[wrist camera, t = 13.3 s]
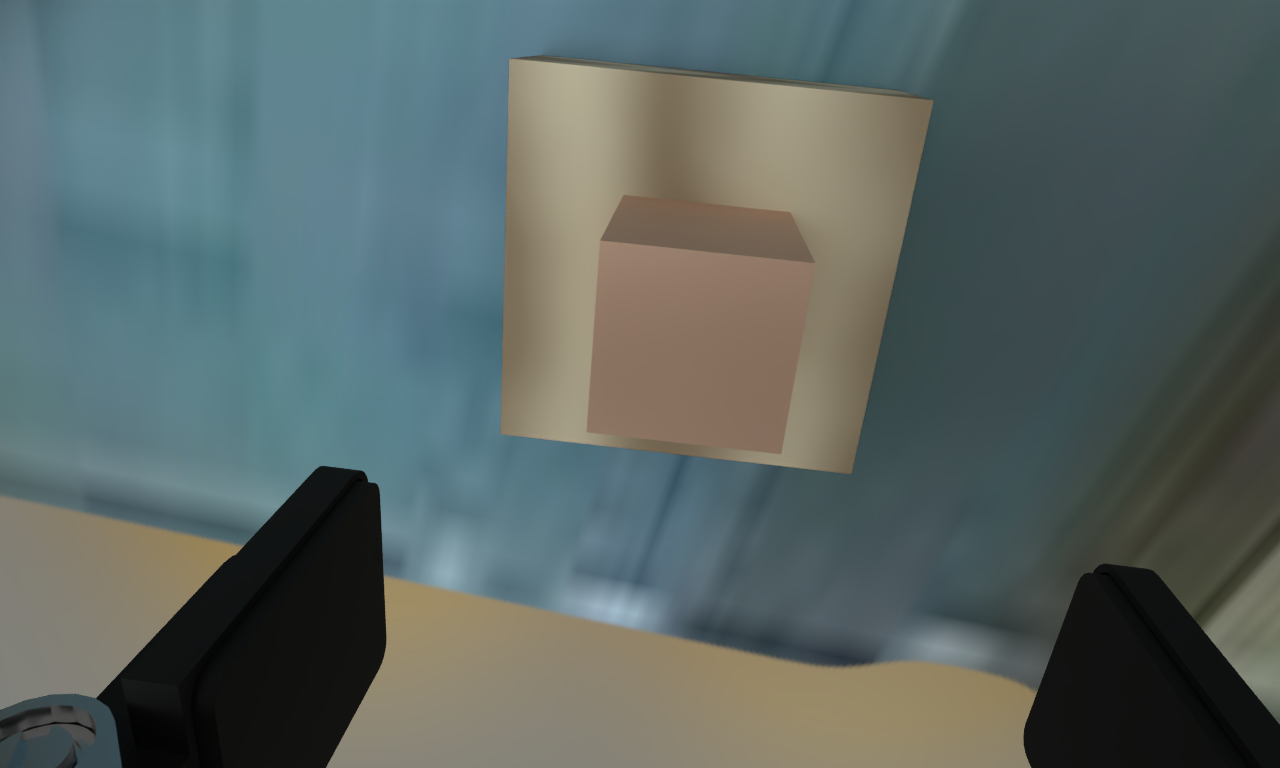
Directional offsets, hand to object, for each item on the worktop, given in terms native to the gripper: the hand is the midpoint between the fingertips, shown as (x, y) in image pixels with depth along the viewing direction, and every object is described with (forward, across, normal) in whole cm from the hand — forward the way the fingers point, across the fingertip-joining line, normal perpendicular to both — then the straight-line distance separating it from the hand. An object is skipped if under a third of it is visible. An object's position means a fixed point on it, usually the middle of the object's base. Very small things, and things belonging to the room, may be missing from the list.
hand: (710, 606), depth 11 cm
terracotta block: (+16, +1, 0) cm, 16 cm away
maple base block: (+21, +1, 0) cm, 21 cm away
